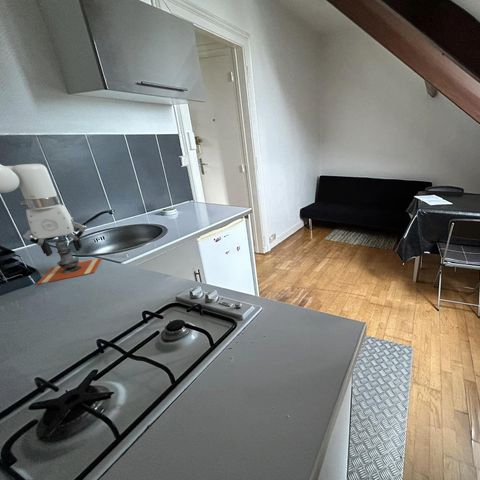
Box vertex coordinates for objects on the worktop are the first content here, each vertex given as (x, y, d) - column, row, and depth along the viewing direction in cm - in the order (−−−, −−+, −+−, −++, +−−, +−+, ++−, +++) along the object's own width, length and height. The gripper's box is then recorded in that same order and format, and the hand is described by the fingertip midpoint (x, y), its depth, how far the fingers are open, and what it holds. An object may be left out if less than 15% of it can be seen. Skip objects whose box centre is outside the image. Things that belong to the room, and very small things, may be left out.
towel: (36, 284, 86) (36, 283, 85) (51, 268, 97) (51, 267, 97) (94, 273, 92) (93, 271, 92) (102, 259, 104) (101, 258, 104)
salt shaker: (72, 273, 92) (59, 241, 87) (56, 273, 92) (42, 242, 88) (86, 265, 97) (74, 235, 93) (71, 266, 97) (58, 236, 93)
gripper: (0, 209, 79) (26, 262, 85) (74, 201, 87) (93, 250, 93) (12, 204, 85) (35, 254, 91) (80, 197, 93) (97, 243, 99)
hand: (64, 251), depth 92 cm, fingers open, 7 cm apart
